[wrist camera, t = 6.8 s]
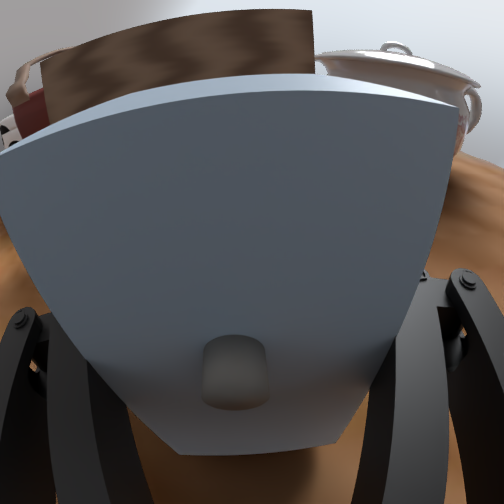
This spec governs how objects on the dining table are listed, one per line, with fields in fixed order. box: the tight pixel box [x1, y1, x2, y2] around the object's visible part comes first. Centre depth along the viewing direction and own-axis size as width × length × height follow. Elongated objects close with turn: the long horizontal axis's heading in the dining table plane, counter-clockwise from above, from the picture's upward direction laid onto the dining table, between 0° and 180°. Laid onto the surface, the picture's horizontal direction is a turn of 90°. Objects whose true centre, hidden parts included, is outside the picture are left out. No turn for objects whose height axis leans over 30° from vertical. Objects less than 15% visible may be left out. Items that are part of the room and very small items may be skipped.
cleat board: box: [40, 9, 315, 125], centre depth 20 cm, size 24×16×20 cm, turn 93°
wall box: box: [0, 74, 459, 455], centre depth 9 cm, size 9×7×13 cm
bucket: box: [6, 47, 73, 140], centre depth 37 cm, size 24×22×25 cm
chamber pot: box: [314, 42, 482, 158], centre depth 37 cm, size 28×28×21 cm
